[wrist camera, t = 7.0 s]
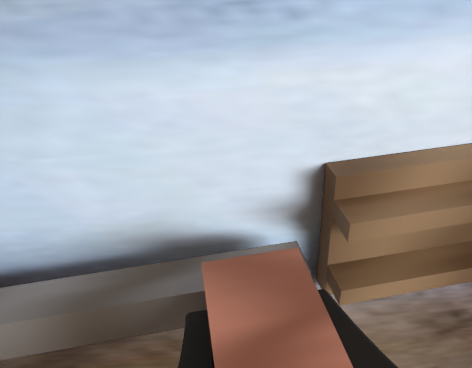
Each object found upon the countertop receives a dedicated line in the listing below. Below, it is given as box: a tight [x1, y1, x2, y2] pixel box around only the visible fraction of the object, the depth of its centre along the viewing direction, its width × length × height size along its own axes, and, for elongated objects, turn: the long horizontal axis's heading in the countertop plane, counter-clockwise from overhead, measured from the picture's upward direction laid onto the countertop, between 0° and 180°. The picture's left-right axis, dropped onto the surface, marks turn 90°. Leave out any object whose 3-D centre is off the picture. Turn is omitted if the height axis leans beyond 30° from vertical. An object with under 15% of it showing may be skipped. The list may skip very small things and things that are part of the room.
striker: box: [0, 241, 353, 368], centre depth 11 cm, size 15×8×8 cm, turn 93°
